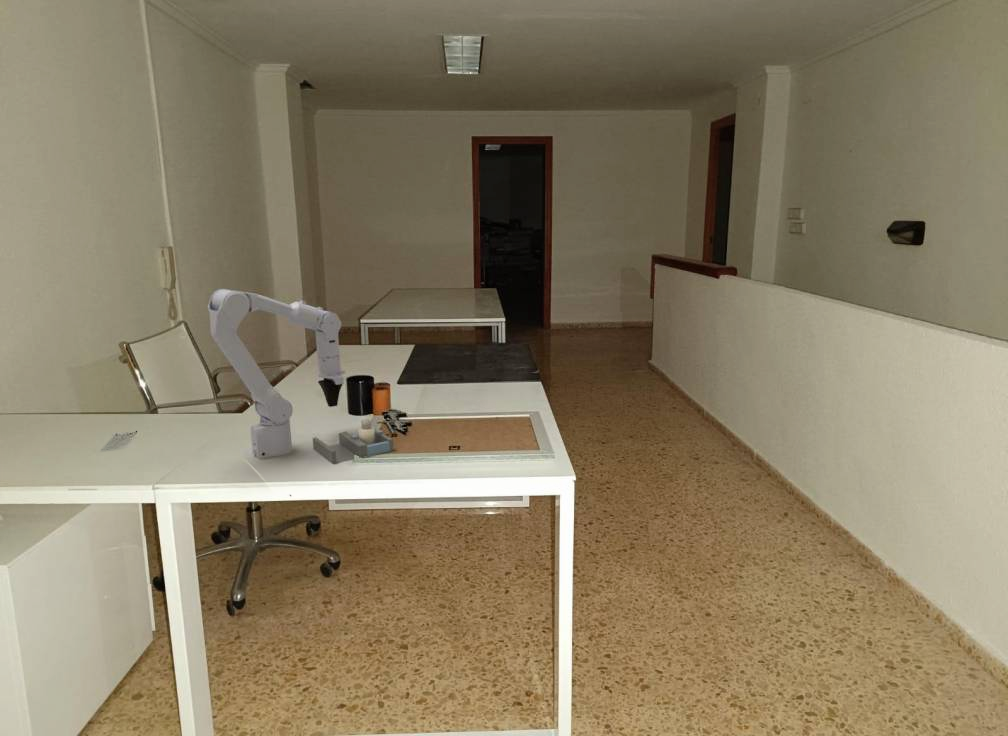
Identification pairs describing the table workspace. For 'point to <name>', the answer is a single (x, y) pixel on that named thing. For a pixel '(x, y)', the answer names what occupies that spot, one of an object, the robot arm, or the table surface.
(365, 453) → the grey walled tray piece
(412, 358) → the table surface
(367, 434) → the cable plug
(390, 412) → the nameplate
